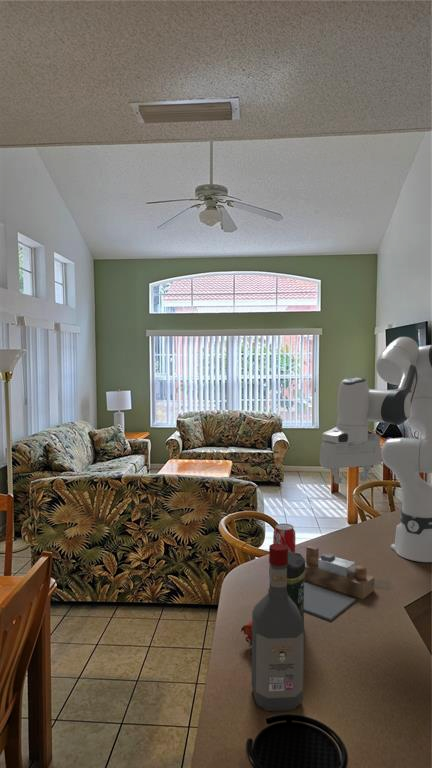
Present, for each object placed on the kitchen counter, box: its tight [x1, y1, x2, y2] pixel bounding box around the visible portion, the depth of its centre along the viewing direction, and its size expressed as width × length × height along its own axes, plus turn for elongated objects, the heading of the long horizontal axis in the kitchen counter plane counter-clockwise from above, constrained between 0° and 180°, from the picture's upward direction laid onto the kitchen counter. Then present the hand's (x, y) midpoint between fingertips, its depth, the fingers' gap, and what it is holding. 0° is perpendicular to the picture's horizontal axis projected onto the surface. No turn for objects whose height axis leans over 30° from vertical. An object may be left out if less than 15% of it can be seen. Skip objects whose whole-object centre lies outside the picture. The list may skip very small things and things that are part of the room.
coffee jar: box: [268, 551, 306, 623], centre depth 127 cm, size 10×8×19 cm
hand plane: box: [304, 545, 375, 600], centre depth 152 cm, size 20×7×9 cm, turn 49°
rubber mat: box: [304, 581, 357, 622], centre depth 143 cm, size 14×18×1 cm
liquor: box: [251, 543, 305, 712], centre depth 102 cm, size 9×9×30 cm
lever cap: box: [318, 552, 356, 578], centre depth 152 cm, size 9×5×4 cm, turn 49°
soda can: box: [272, 523, 296, 553], centre depth 168 cm, size 7×7×12 cm
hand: (350, 481), depth 151 cm, fingers open, 8 cm apart
